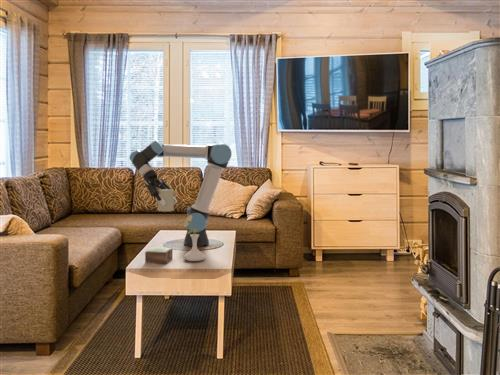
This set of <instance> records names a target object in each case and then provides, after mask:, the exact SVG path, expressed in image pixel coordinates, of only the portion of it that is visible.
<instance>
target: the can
mask: <svg viewBox="0 0 500 375" xmlns="http://www.w3.org/2000/svg"><path fill="white" fill-rule="evenodd" d="M157 190H158V195H159V194H160V195H161V196H162V198H163V199H164V200H165V202H166V204H165V205H164V206H162V204H161V203H160V202H159V201H158V200H157V208H156V209H157V211H158V212H173V211H175V206H174V205H175V204H174V197H175V196H174V195H175V189H172V188H171V189H160V188H158V189H157Z"/></svg>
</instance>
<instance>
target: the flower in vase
mask: <svg viewBox="0 0 500 375" xmlns="http://www.w3.org/2000/svg"><path fill="white" fill-rule="evenodd" d="M191 220H192V215H189V216H188V218H187V217H186V218H185V221H184V222H183V223H182V227H183V228H186V227H187V225H189V223H190V222H191ZM190 225H191V223H190ZM191 227H192V225H191ZM192 231H193V233H195V232H197V227H196V228H195V229H193V228H192V230H190V231H189V232H188V234H190V233H191V232H192ZM190 236H191V238H192V242H193V246H191V247H192V248H191V249H190V250H188V252H187V253H186V254H185V255H184V256H183V259H184V260H185V261H188V262H200V261H203V260H205V259H206V256H205V254H204V253H203V252H201V251H200V250H199V248H198V246H197V239H198V237H199V234H191V235H190Z"/></svg>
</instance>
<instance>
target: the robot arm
mask: <svg viewBox="0 0 500 375" xmlns="http://www.w3.org/2000/svg"><path fill="white" fill-rule="evenodd" d="M157 157H161V158H162V157H164V158H181V159H182V158H185V159H188V158H189V159H205V160H206V161H207V162H206V164H207V165H208V167H207V169H206V171H205V175H204V177H203V181H202V182H201V186H200V188H199V191H198V194H197V196H196V199H195V202H194V204H192V205H191V206H190V207H187V209H186V213H187V214H186V219H187V218H188V216H189V215H192V220H191V222H190V223H191V225H192V227H191V225H190V223H189V225H187V226H186V227H187V228H186V230H187V231H186V234H185V237H184V240H183V243H184V244H185V245H184V244H183V245H184V246H187V245H188V246H187V247H192V246H193V242H192V238H191V236H190V235H191V234H199V237H198V239H197V247H205V246H204V245H206V246H208V245H209V244H210V243H209V242H210V240H209V237H208V234H207V222H208V219H209V218H210V214H211V213H210V212H211V211H210V206H211V203H212V201H213V198H214V194H215V192H216V189H217V187H218V185H219V181H220V178H221V175H222V173H223V171H225V170H226V169H227V167H228V165H229V161H230V160H231V158H232V150H231V147H230V146H229V145H227V144H226V143H222V142H218V143H215V144H209V143H207V144H206V145H191V144H190V145H189V144H188V145H187V144H167V143H166V144H161V143H160V142H159V141H158V140H157V139H156V140H154V141H152V142H151V143H150V144H149V145H147V146H146V147H145V148H144V149H143V150H141V151H140V150H134V151H132V152H131V153H130V155H129V160H130V162H131V164H132V165H133V166H134V168H135V169H136V170H137V171H138V173H139V175H140V176H141V177H142V178H143V180H144V181H145V182H144V185H145V186H146V188H147V190H148V191H149V194H150V195H151V197H153V198H154V199H156V200H157V202H158V201H159V202H160V203H161V204H162V206H164V205H165V204H166V202H165V200H164V199H163V198H162V196H161V195H160V194H159V195H158V190H159V189H172V188H171V187H170V186H169V185H168V184H167V183H166V182H165V180H164V179H163V178H161V179H160V178H159V177H158V173H157V172H156V171H155V170H154V168H153V167H152V165H151V164H150V162H151V161H152V160H154V159H155V158H157ZM177 202H178V200H177V198H176V197H175V196H174V205H176V204H177ZM196 227H197V232H195V233H193V231H192V232H191V233H190V234H188V232H189V231H190V230H192V228H193V229H195V228H196Z"/></svg>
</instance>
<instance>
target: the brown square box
mask: <svg viewBox="0 0 500 375" xmlns="http://www.w3.org/2000/svg"><path fill="white" fill-rule="evenodd" d="M144 254H145V256H144V260H145V262H144V263H145V264H156V265H166V264H168V263H169V262H171V261H172V260H173V258H174V257H173V248H172V247H159V246H158V247H157V246H155V247H154V246H153V247H151V248H150V249H148V250H146V251H145V252H144Z"/></svg>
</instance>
